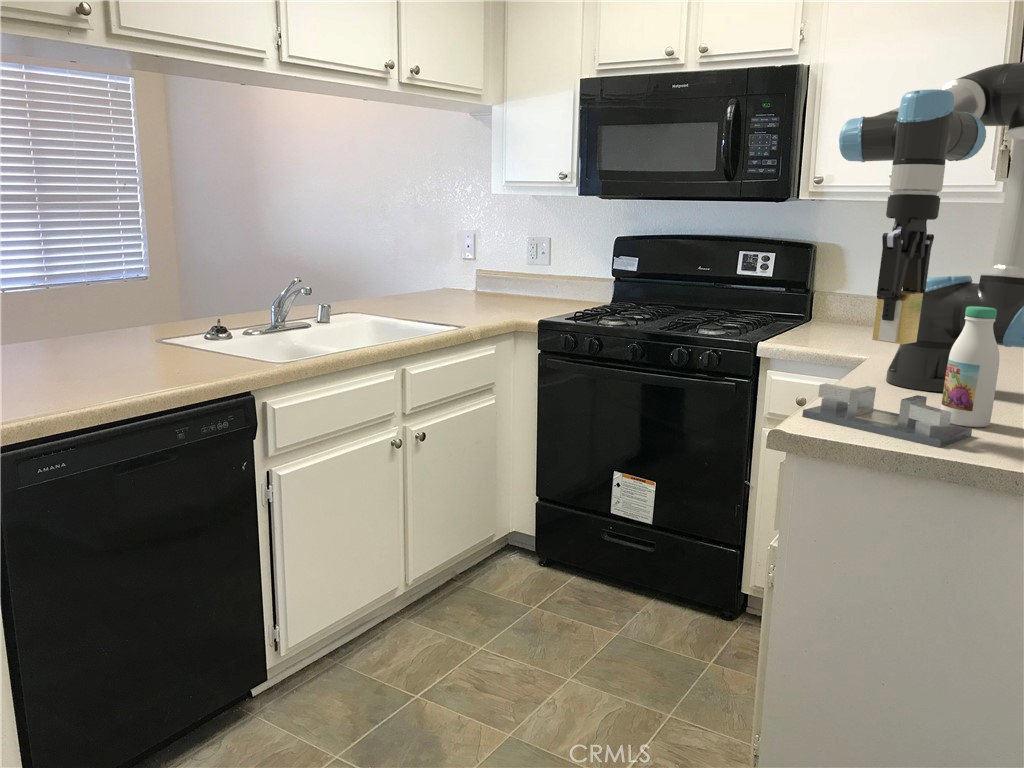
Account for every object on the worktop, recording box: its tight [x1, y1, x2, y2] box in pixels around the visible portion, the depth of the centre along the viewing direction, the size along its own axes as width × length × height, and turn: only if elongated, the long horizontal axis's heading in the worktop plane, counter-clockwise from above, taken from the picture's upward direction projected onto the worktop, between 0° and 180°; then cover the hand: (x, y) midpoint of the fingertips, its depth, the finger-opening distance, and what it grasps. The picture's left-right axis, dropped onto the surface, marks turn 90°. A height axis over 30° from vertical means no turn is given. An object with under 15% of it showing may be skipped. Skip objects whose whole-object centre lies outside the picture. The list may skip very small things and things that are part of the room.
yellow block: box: [871, 290, 923, 345], centre depth 134 cm, size 5×5×8 cm
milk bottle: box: [940, 306, 1000, 428], centre depth 140 cm, size 8×8×20 cm
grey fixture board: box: [802, 383, 973, 448], centre depth 137 cm, size 12×23×6 cm, turn 41°
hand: (895, 339), depth 135 cm, fingers closed on yellow block, 5 cm apart
